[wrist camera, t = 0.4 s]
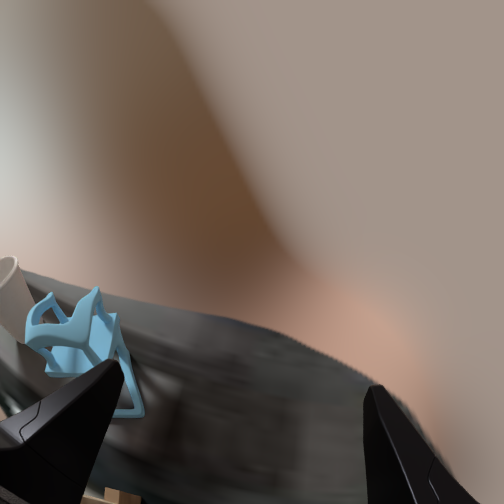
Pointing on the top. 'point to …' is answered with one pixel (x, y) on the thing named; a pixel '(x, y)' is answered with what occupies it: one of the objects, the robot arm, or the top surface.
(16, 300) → the dixie cup
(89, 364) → the chair
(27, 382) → the top surface
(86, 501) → the keyed post
